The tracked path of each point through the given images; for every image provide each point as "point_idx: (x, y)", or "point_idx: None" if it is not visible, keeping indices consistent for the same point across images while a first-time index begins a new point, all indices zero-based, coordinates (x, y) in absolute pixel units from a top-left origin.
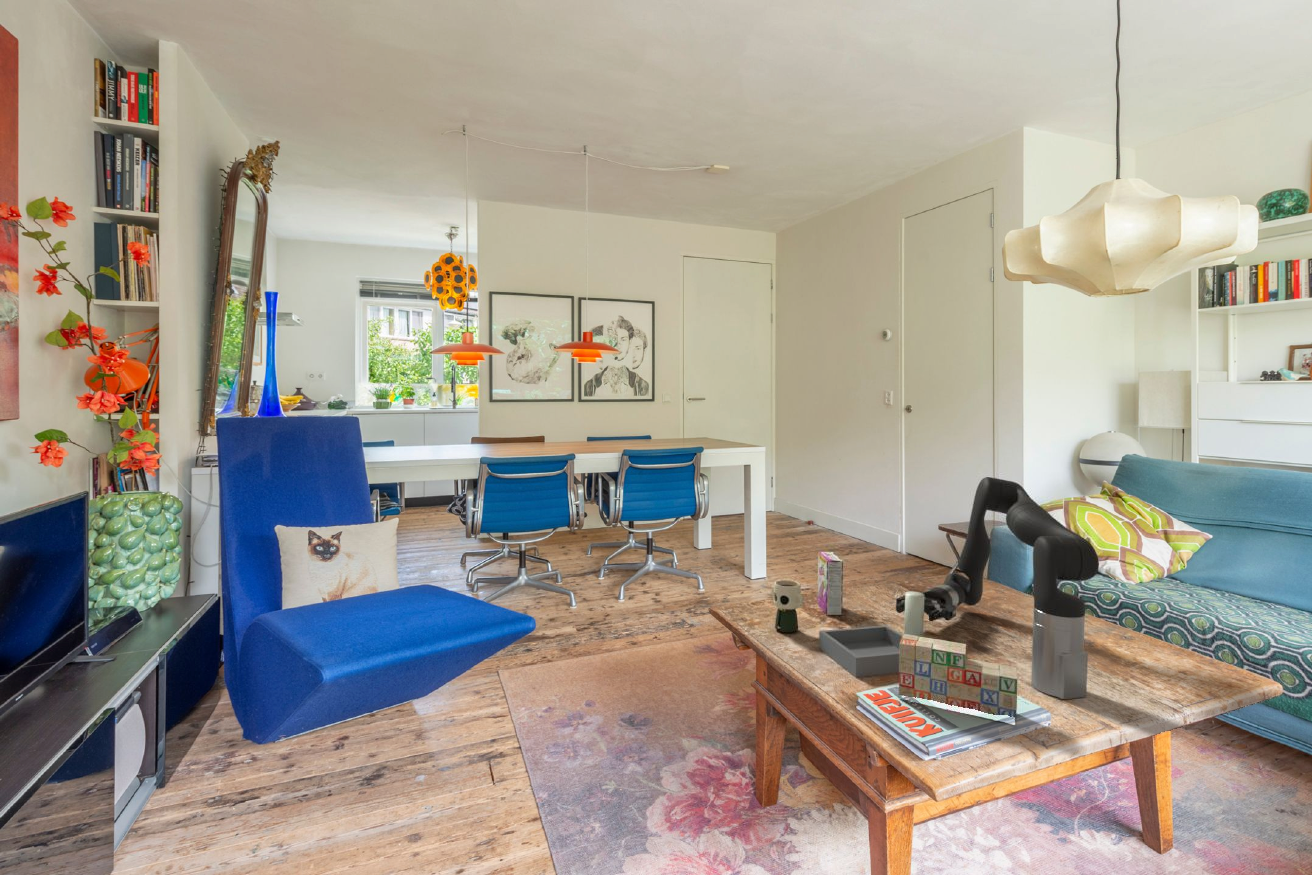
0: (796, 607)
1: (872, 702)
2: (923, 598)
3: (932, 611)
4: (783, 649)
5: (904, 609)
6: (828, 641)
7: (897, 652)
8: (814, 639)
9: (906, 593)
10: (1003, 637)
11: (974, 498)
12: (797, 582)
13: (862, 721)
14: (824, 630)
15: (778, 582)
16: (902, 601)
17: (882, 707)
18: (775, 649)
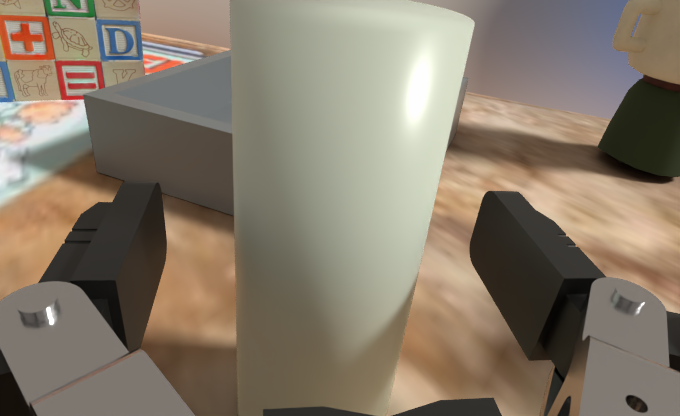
0: (634, 63)
1: (183, 61)
2: (230, 32)
3: (133, 216)
4: (487, 108)
5: (521, 327)
6: None
7: (191, 66)
8: (529, 161)
9: (423, 7)
10: None
11: None
12: None
13: (172, 41)
14: (465, 82)
15: None
16: (614, 283)
17: (159, 59)
18: (494, 103)
